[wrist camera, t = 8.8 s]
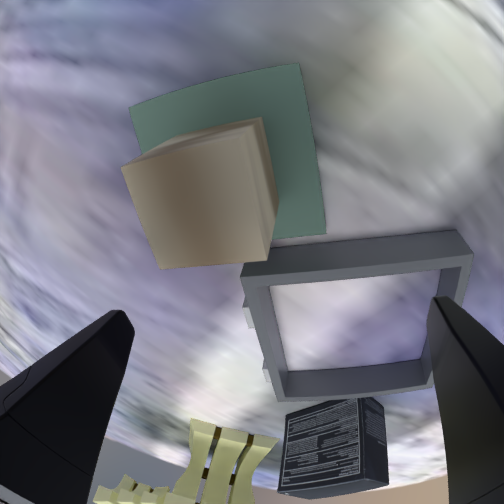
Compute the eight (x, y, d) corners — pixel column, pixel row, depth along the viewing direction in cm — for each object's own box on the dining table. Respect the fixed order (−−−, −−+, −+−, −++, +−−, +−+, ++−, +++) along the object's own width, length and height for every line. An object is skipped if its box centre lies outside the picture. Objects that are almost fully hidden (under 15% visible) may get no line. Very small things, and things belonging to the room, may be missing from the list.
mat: (299, 63, 14) (298, 62, 13) (325, 226, 19) (326, 234, 18) (136, 105, 16) (128, 107, 15) (181, 242, 21) (175, 250, 20)
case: (456, 229, 17) (474, 253, 14) (426, 362, 24) (432, 387, 22) (239, 251, 21) (230, 277, 18) (274, 376, 28) (271, 401, 26)
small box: (314, 431, 34) (308, 501, 26) (283, 414, 33) (272, 492, 24) (386, 407, 29) (391, 487, 21) (360, 387, 28) (363, 480, 19)
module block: (261, 116, 15) (239, 137, 10) (279, 201, 17) (267, 260, 12) (176, 135, 16) (120, 167, 11) (199, 213, 18) (160, 269, 14)
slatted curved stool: (145, 433, 47) (116, 511, 32) (135, 399, 38) (92, 501, 23) (299, 470, 46) (288, 550, 31) (334, 445, 37) (325, 551, 22)
